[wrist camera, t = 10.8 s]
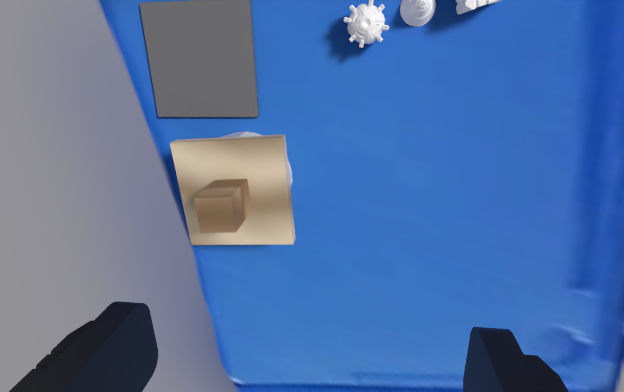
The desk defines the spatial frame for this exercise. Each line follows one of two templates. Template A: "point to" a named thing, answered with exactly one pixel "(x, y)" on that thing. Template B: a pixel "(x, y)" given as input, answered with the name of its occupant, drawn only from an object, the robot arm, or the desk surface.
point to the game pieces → (414, 12)
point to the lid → (235, 190)
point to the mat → (201, 57)
